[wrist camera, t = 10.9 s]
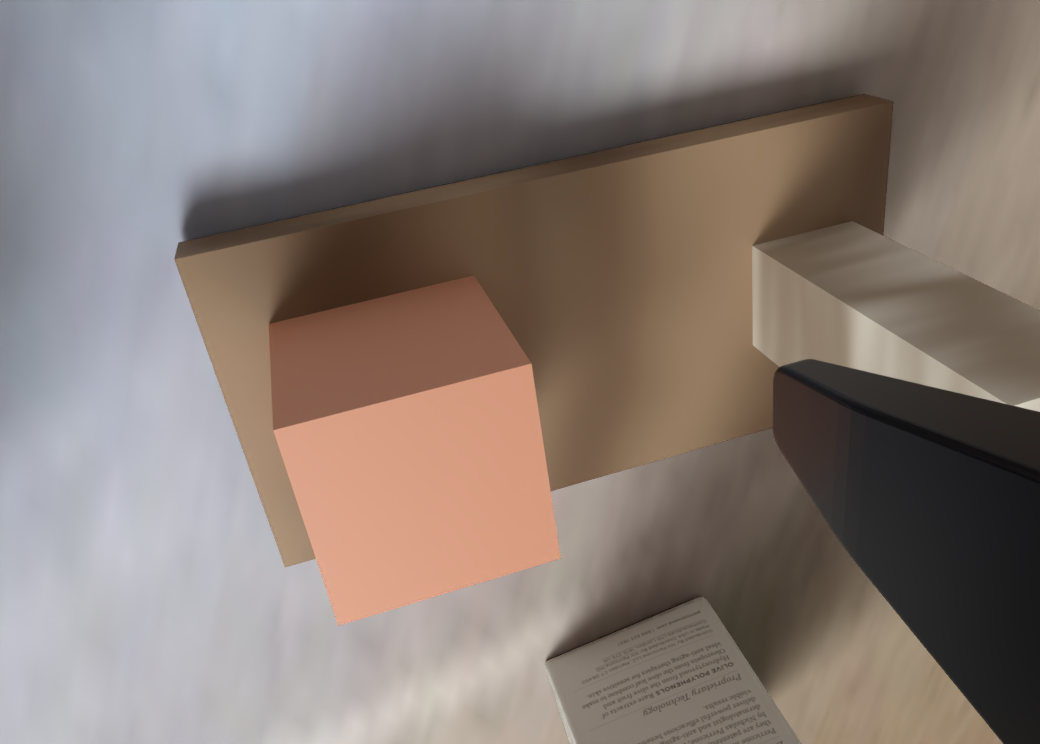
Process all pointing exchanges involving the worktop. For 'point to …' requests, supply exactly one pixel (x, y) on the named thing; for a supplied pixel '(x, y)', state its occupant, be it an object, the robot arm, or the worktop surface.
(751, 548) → the worktop surface
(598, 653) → the skincare box
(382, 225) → the wooden base with post
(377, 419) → the cube
